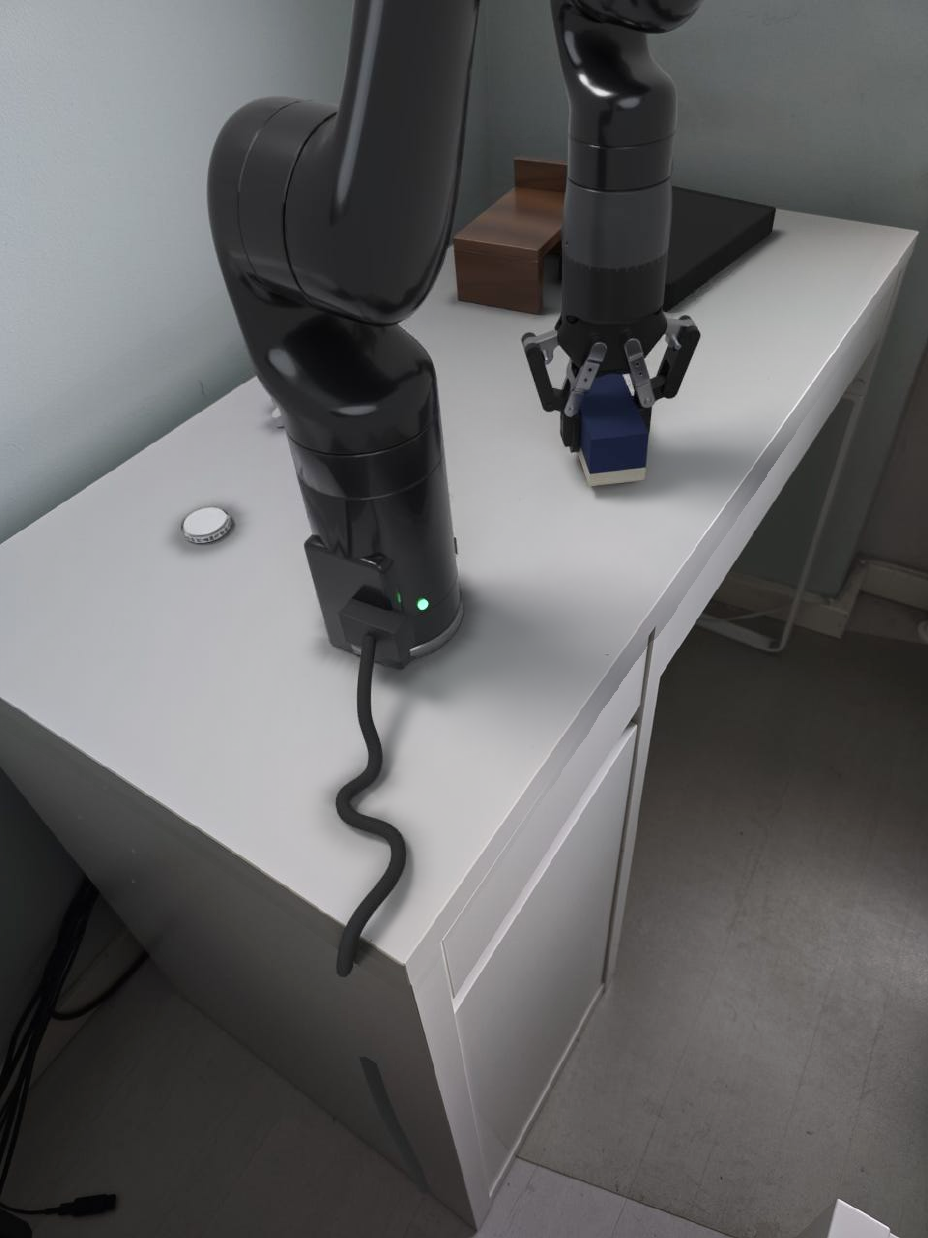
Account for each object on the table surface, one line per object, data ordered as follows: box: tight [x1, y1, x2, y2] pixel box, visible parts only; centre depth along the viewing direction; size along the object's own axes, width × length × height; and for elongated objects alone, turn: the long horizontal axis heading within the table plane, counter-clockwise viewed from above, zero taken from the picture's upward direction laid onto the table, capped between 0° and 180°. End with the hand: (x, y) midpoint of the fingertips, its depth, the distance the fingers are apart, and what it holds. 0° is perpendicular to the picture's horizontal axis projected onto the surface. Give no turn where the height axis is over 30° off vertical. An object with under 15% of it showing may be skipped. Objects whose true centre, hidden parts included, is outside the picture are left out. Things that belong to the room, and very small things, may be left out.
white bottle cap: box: [180, 505, 232, 544], centre depth 72 cm, size 4×4×1 cm
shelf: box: [452, 154, 567, 315], centre depth 97 cm, size 16×10×10 cm, turn 151°
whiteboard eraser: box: [577, 374, 650, 487], centre depth 73 cm, size 10×5×4 cm, turn 6°
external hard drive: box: [558, 185, 777, 313], centre depth 100 cm, size 14×23×3 cm, turn 139°
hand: (604, 442), depth 74 cm, fingers closed on whiteboard eraser, 4 cm apart
